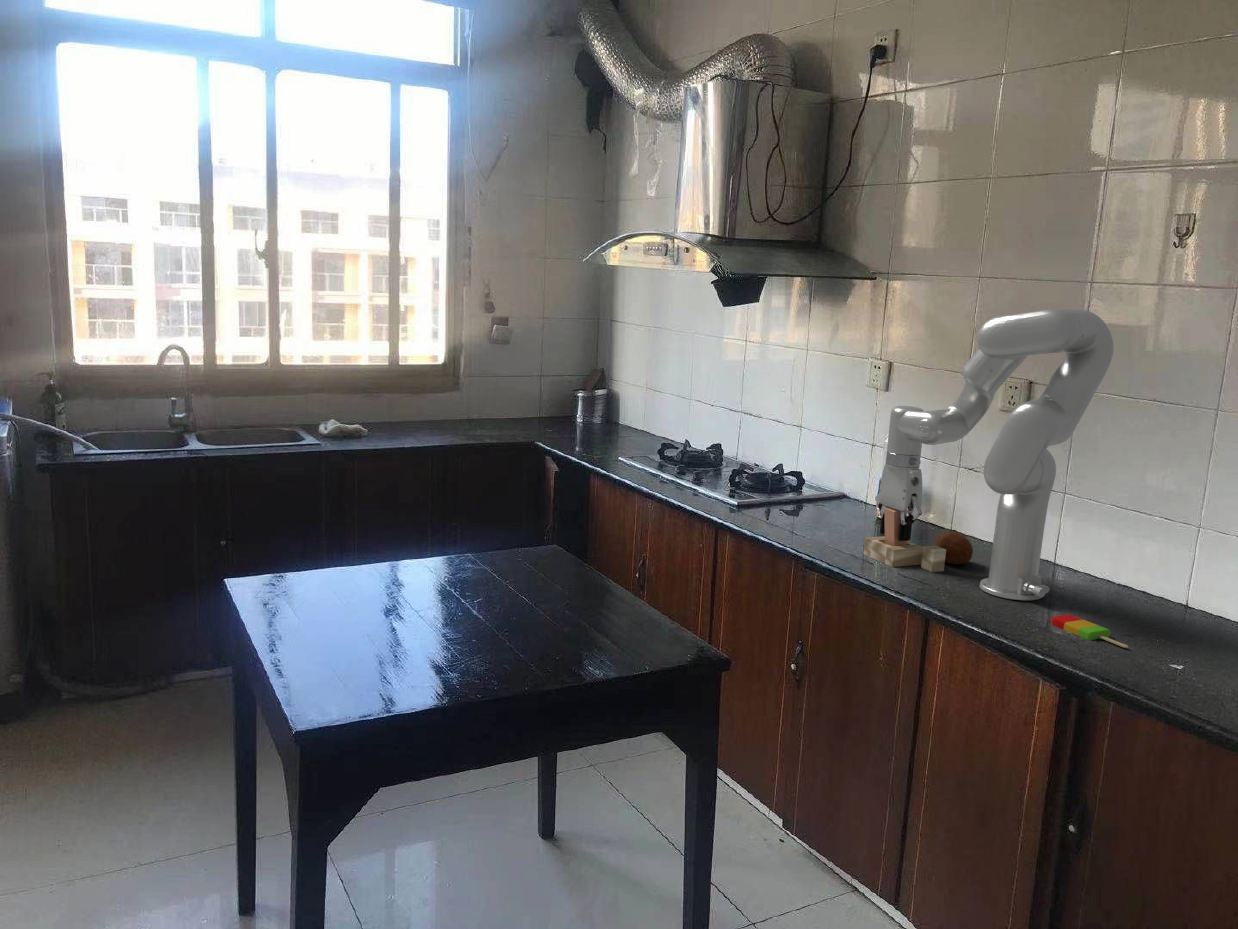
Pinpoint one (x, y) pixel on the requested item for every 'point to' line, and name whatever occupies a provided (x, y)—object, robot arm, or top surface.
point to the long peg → (893, 527)
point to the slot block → (893, 552)
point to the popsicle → (1083, 628)
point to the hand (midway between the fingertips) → (894, 536)
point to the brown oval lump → (955, 547)
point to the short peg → (933, 558)
